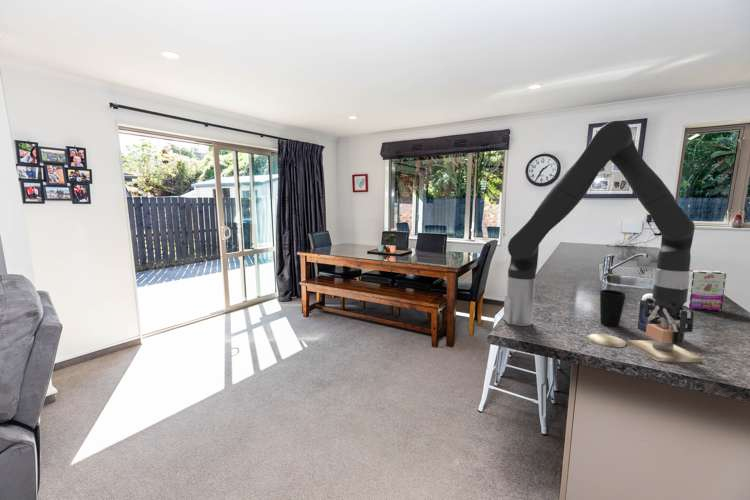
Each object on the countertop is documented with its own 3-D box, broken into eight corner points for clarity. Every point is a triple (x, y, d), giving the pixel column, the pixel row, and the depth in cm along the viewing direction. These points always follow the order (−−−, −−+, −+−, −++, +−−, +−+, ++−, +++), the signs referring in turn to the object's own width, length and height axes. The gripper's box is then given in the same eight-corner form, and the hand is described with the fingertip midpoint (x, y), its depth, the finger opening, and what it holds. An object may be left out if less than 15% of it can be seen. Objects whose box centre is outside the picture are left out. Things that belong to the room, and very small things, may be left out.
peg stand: (657, 361, 94) (661, 322, 92) (627, 343, 105) (630, 309, 104) (701, 362, 93) (707, 323, 92) (666, 344, 105) (670, 310, 103)
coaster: (600, 346, 103) (600, 345, 103) (582, 334, 113) (582, 333, 113) (633, 347, 102) (634, 346, 102) (612, 335, 112) (612, 334, 112)
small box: (635, 327, 120) (638, 299, 118) (652, 327, 120) (655, 299, 119) (663, 339, 109) (667, 308, 108) (681, 339, 110) (685, 308, 108)
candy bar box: (713, 308, 143) (719, 270, 141) (721, 311, 138) (727, 272, 136) (681, 305, 146) (686, 269, 144) (688, 309, 142) (693, 271, 140)
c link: (661, 342, 96) (662, 331, 95) (645, 334, 102) (646, 323, 101) (683, 343, 96) (684, 331, 95) (666, 335, 101) (667, 324, 101)
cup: (626, 328, 118) (630, 295, 117) (602, 327, 120) (606, 294, 118) (615, 321, 126) (619, 290, 124) (593, 319, 127) (596, 289, 126)
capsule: (655, 315, 133) (657, 296, 132) (638, 312, 137) (640, 293, 136) (658, 313, 136) (660, 293, 135) (642, 309, 140) (644, 291, 139)
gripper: (639, 279, 104) (633, 329, 106) (678, 290, 90) (671, 348, 92) (664, 279, 103) (658, 329, 105) (707, 291, 89) (700, 348, 91)
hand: (664, 338), depth 99 cm, fingers open, 8 cm apart
